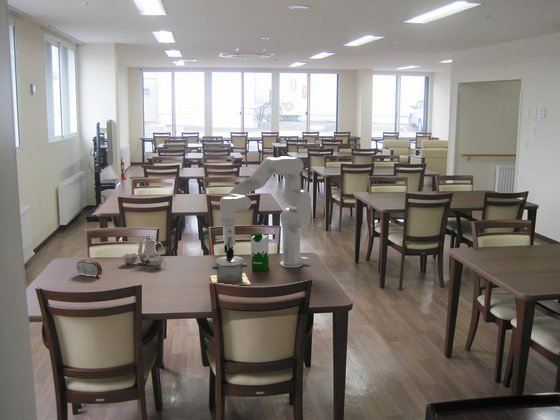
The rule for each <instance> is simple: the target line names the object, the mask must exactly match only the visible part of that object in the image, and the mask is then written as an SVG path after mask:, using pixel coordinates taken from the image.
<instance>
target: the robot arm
mask: <svg viewBox="0 0 560 420" xmlns="http://www.w3.org/2000/svg"><path fill="white" fill-rule="evenodd" d="M303 169H304V162H303V160H302V159H301V158H299V157H296V156H295V157H293V156H284V155H283V156H282V155H281V156H279V157H266V158H264V159H263V160H262V161H261V162H260V164H259V165H258V166H257V167H256V168H255V170H254V171H253V172H252V174H250V176H249V177H247V178H245V179H244V180H242V181H240V182H238V183H237V184H236V185H234V187H233V188H232V189H231V190H230V192H229V193H228V195H227V196H222V197H221V198H220V199H219V217H220V218H219V219H220V226H221V227H222V234H223V235H222V237H223V238H222V239H223V242H224V243H223V244H224V246H223V247H224V248H223V249H224V254H226V250H227V258H234V256H235V255H234V254H235V251H234V246H235V245H236V232H235V230H236V229H235V226H236V225H237V222H236V221H237V218H236V215H237V214H236V211H240V212H242V211H244V212H245V211H246V210H249V209H251V208H250V207H251V206H252V200H251V198H250V197H249V196H247V194H249V193H250V192H252V191H253V192H254V191H257V190H260V189H262V188H263V187H264V186H265V185H266V184H267V182H269V180H270V179H271V178H272V176H273V175H277V176H283V178H284V190H283V191H284V195H283V196H284V197H283V199H284V203H285V204H286V205H287V206H291V207H286V208H284V209H283V210H281V213H280V223H281V228H282V261H280V263H279V266H281V267H283V268H288V269H289V268H290V269H291V268H292V269H293V268H294V269H295V268H300V267H303V265H304V262H308V261H309V260H310V259H309V257H305V256H301V231H300V229H306V228H307V227H308V226H309V225H310V222H311V217H312V216H311V215H312V213H311V212H312V197H311V194H310V192H309V191H307V190H305V189H301V184H302V183H301V175H300V173H302V171H303ZM293 207H296V208H293Z"/></svg>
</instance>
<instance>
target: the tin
mask: <svg viewBox="0 0 560 420" xmlns="http://www.w3.org/2000/svg"><path fill="white" fill-rule="evenodd" d="M76 269H77V272H78V274H80V273H84V274H89V275H96V276H98V275H100V276H101V275H102V273H103V267H102V266H101V264H100V263H99V262H98V261H96V260H88V259H81V260H80V261H78V262H77V264H76ZM98 277H99V276H98Z"/></svg>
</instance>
